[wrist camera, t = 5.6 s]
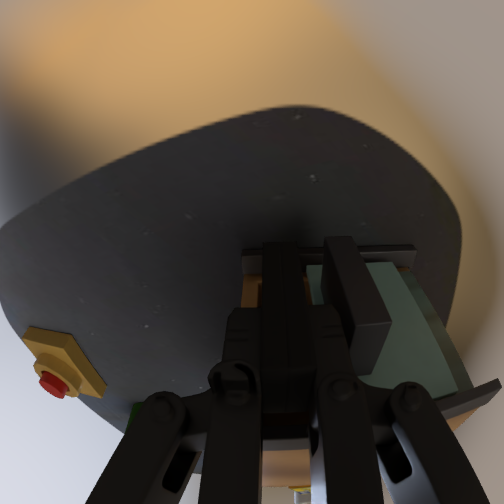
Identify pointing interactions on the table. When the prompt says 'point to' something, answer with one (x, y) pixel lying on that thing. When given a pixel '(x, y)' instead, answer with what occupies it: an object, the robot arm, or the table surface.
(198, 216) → the table surface
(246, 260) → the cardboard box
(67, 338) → the button housing
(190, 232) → the table surface
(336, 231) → the table surface
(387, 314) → the sliding door
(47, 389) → the button
